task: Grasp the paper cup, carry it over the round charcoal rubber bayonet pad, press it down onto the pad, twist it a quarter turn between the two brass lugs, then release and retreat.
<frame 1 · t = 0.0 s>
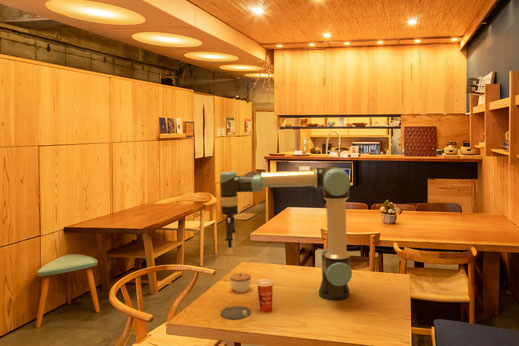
hand: (231, 250, 237), 28 cm above the table, fingers open, 13 cm apart
paper cup: (266, 310, 236), on the table
bayonet pad: (235, 313, 233), on the table
lidded jar: (241, 291, 264), on the table
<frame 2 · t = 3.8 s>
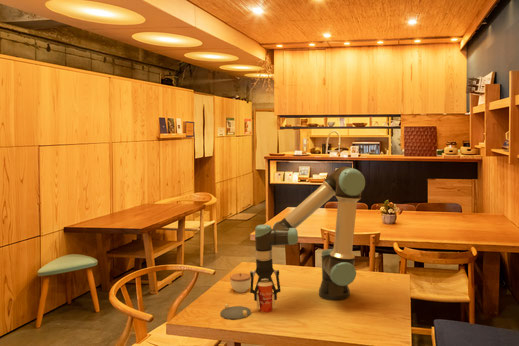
hand: (265, 306, 236), 2 cm above the table, fingers closed on paper cup, 7 cm apart
paper cup: (266, 310, 236), on the table, touching gripper
everything else where it was.
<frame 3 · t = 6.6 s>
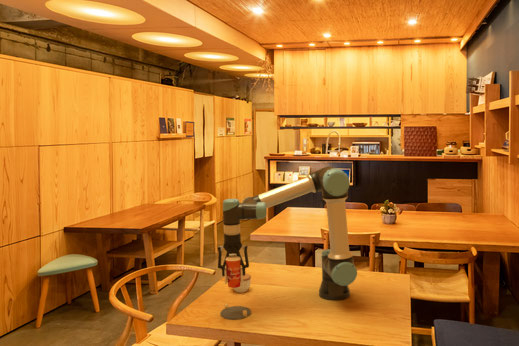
hand: (234, 282, 232), 15 cm above the table, fingers closed on paper cup, 7 cm apart
paper cup: (234, 286, 232), point 13 cm above the table, touching gripper
everything else where it was.
when the fingers open (3 cm above the table, at t = 9.7 s): paper cup stays where it is, resting on bayonet pad.
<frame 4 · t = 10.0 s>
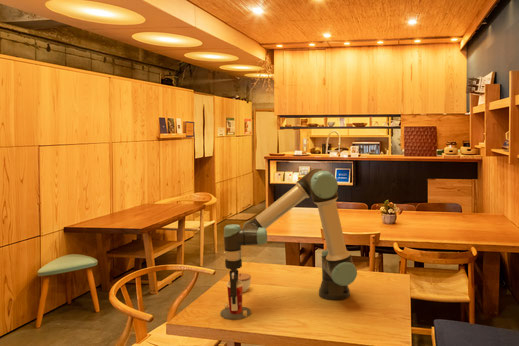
hand: (235, 305, 233), 4 cm above the table, fingers open, 11 cm apart
paper cup: (235, 312, 233), point 1 cm above the table, touching bayonet pad
everything else where it was.
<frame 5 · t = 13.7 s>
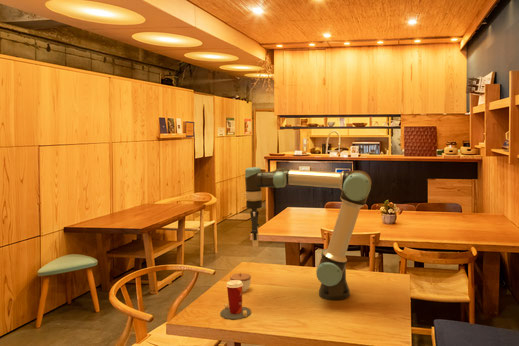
hand: (255, 243, 246), 29 cm above the table, fingers open, 13 cm apart
nothing on the table moved.
at the end: paper cup 0.2 cm from the bayonet pad (horizontally); paper cup tilted 0°; the gripper is holding nothing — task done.
